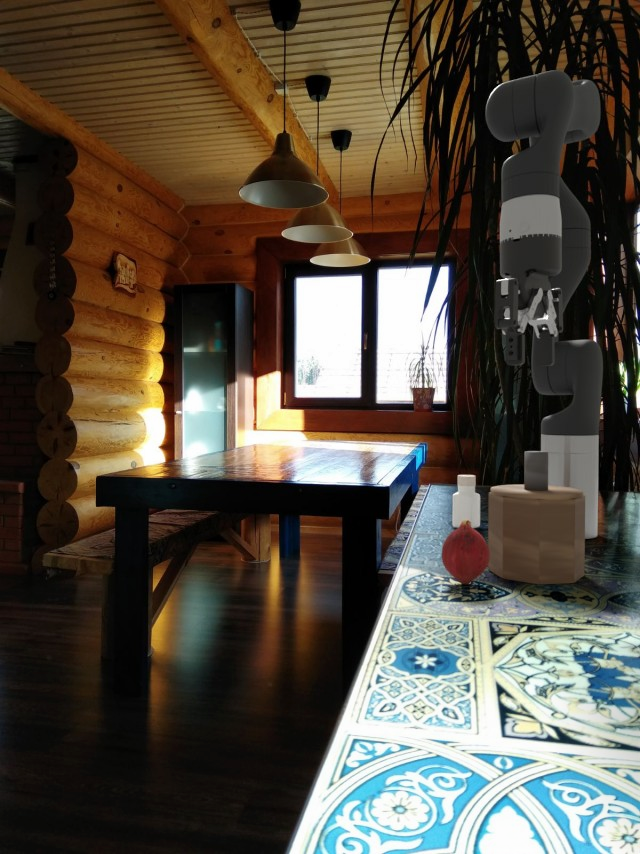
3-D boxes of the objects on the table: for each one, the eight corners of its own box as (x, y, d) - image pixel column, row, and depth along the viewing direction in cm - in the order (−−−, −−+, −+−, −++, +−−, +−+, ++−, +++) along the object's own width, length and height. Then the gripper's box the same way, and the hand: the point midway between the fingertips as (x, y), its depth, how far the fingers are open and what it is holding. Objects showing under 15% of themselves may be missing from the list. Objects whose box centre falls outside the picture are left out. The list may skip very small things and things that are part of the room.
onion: (490, 592, 77) (491, 524, 76) (441, 589, 78) (441, 523, 77) (487, 579, 82) (488, 516, 82) (441, 577, 83) (442, 515, 83)
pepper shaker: (451, 527, 118) (451, 475, 118) (461, 524, 121) (461, 474, 121) (471, 530, 116) (471, 477, 115) (481, 527, 119) (481, 475, 118)
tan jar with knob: (508, 558, 94) (509, 448, 93) (592, 570, 87) (594, 451, 86) (476, 574, 85) (476, 452, 84) (567, 589, 78) (568, 456, 77)
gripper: (528, 251, 91) (528, 367, 91) (475, 235, 80) (476, 366, 81) (581, 241, 85) (582, 365, 86) (532, 223, 75) (533, 363, 76)
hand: (530, 365), depth 84 cm, fingers open, 8 cm apart
